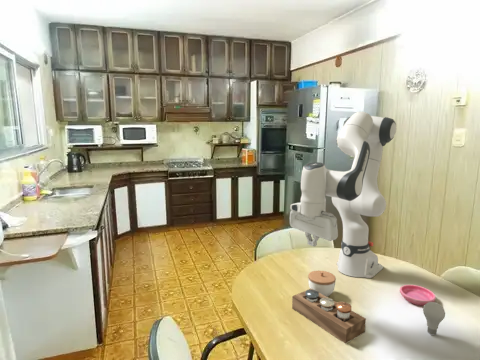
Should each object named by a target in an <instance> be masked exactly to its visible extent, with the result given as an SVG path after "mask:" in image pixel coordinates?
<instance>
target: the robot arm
mask: <svg viewBox="0 0 480 360" xmlns="http://www.w3.org/2000/svg"><path fill="white" fill-rule="evenodd" d="M396 132H397V123H396V121H395V119H393V118H391V117H387V116H385V117H383V116H376V115H370V114H369V113H368V112H366V111H357V112H354V113H353V114H352V115H350V116H349V117H347V118H346V119H345V120H344V122H343V125H342V127H341V129H340V131H339V132H338V134H337V138H336V142H337V143H336V144H337V146H338V148H339V149H340V151H341V152H342V153H344V154H345V155H346V156H349V157H352V158H353V161H352V165H351V169H349V170H346V171H342V170H332V169H329V168H327V167H326V166H325V165H326V164H324V163H323V162H315V161H314V162H308V163H306V164H305V165H303V167H302V170H301V177H300V191H301V196H300V201H299V202H295V203H292V204H290V207H289V209H290V212H289V225H290V227H291V228H293V229H295V230H298V231H301V232H304V233H305V234H304V235H305V237H306V240H307V245H309V246H312V247H316V246H317V244H318V240H319V239H320V238H321V239H323V240H326V241H328V242H332V241H335V240H337V238H338V237H339V230H338V219H337V217H336V216H335V215H334V213H332V212H327V210H326V209H327V208H326V207H327V206H326V205H327V198H326V196H327V197H331V202H332V205H333V206H334V207H335V208H336V210H337V211H338V214H339V216H340V218H341V222H342V239H341V243H340V244H341V248H340V250H339V255H338V261H336V265H337V270H338V271H339V272H340V273H341V274H343V275H345V276H348V277H355V278H367V279H372V278H373V277H374V276H376V275H377V274H378V273H379V272H381V271H382V270H383V269H384V266H383V265H382V264H381V263H379V257H378V255H377V254H376V253H375V252H374V251H372V250H371V248H370V247H373V246H374V242H372V241H371V240H370V241H369V229H370V228H369V225H368V224H367V223H366V222H365V221H364V220H363V218H362V216H366V217H380V216H381V215H383V213H384V212H385V210H386V209H387V208H386V207H387V201H386V198H385V196H384V195H382V193H381V191H380V189H379V186H378V175H379V170H380V166H381V162H382V157H383V151H384V150H383V148H384V146H386V144H388V143H390V142H391V141H392V140H393V139H394V137H395V135H396ZM361 215H362V216H361Z"/></svg>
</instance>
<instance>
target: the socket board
mask: <svg viewBox="0 0 480 360" xmlns="http://www.w3.org/2000/svg"><path fill="white" fill-rule="evenodd" d="M307 290H313V289H310V288H309V289H307ZM307 290H304V291H302V292H299V293H296V294H295V295H292V299H291V300H292V303H291V304H292V305H291V307H292V310H294V311H295V312H297V313H299V314H300V315H301V316H303V317H304V318H306V319H307V320H309V321H310V322H311V323H313V324H315V325H316V326H318V327H319V328H321V329H323V330H324V331H325V332H326V333H329V334H330V335H332V336H333V337H334V338H336V339H337V340H339V341H341V342H342V343H344V344H345V345H346V344H348V343H349V342H351V341H353V340H354V339H356V338H358V337H359V336H361V335H363V334H365V332H366V320H367V318H366V317H364V316H362V315H361V314H359V313H357V312H355V311H353V310H351V312H350V320H348V321H347V322H343V321H341V320H340V319H338V318H337V309H336V304H337V303H338V302H337V301H335V300H333V301H334V307H333V310H331V311H329V312H326V311H325V310H323V309H321V305H320V299H321V298H329V296H328V297H326V296H324V295H322V294H321V293H319V292H318V293H319V297H318V298H317V301H316V302H313V303H311V302H310V301H308V300H306V296H305V292H306V291H307Z"/></svg>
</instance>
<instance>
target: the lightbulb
mask: <svg viewBox="0 0 480 360" xmlns="http://www.w3.org/2000/svg"><path fill="white" fill-rule="evenodd" d="M422 313H423V316H424V317H425V319H426V326H427V333H428V334H429V335H431V336H435V335H436V334H437V332H438V329H439V326H440V323H442V321H444V319H445V318H446V311H445V309H444V307H443V305H441V304H439V303H438V302H436V301H434V302H428V303H426V304H425V305H424V306H423V308H422Z"/></svg>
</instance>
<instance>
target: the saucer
mask: <svg viewBox="0 0 480 360" xmlns="http://www.w3.org/2000/svg"><path fill="white" fill-rule="evenodd" d="M399 293H400V295H401V296H402V297H403V298H404V299H405V301H406V302H409V303H410V304H413V305H416V306H423V307H424V305H425V304H426V303H428V302H436V298H437V296H436V294H435V293H434V292H433V291H432V290H430V289H428V288H426V287H423V286H420V285H417V284H404V285H402V286H400V288H399Z"/></svg>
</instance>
